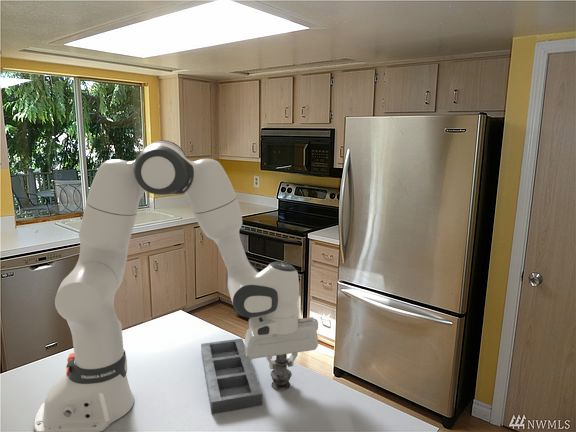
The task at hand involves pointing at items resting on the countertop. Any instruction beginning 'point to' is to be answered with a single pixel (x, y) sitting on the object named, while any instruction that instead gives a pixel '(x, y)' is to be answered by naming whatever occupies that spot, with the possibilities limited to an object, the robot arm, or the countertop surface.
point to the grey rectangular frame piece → (229, 376)
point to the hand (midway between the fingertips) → (281, 366)
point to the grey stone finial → (281, 374)
